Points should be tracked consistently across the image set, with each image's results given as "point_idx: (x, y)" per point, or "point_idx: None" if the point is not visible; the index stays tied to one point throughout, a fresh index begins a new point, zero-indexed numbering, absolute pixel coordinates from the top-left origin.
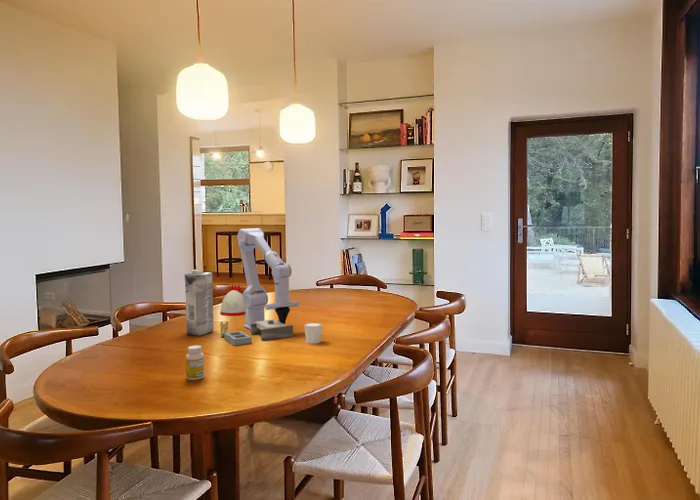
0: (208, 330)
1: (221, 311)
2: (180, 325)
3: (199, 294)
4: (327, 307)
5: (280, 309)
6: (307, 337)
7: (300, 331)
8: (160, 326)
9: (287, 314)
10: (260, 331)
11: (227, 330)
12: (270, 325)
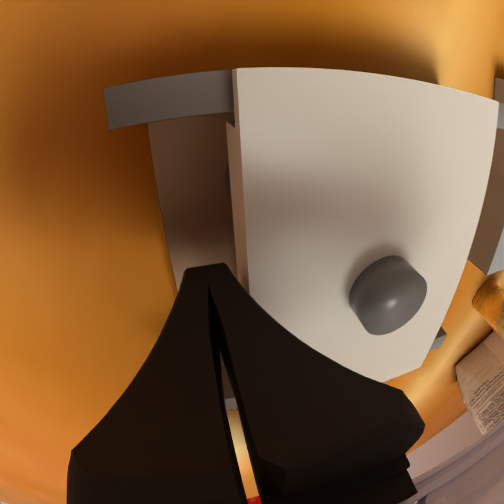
0: (483, 351)
1: None
2: (442, 418)
3: None
4: (5, 484)
5: (336, 487)
6: None
7: (29, 257)
8: None
9: (139, 384)
10: None
11: (500, 303)
12: (443, 171)
